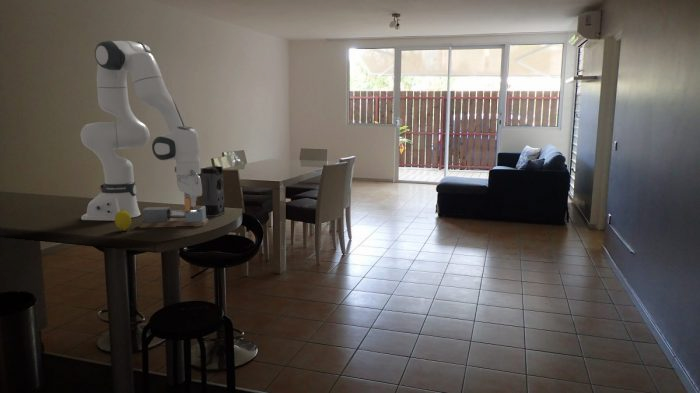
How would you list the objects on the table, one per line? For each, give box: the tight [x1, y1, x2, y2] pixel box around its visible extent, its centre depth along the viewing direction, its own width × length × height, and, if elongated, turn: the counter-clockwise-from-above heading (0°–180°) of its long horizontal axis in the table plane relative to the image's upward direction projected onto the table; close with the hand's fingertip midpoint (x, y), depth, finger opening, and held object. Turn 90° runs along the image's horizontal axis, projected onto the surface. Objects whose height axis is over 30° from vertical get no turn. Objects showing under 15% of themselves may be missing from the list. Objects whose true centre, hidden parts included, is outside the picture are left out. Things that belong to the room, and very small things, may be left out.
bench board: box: [138, 217, 209, 228], centre depth 207 cm, size 24×8×2 cm, turn 94°
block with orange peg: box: [167, 197, 198, 219], centre depth 206 cm, size 14×4×8 cm, turn 94°
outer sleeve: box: [141, 206, 172, 223], centre depth 206 cm, size 9×5×5 cm, turn 93°
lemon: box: [114, 210, 132, 232], centre depth 196 cm, size 6×6×8 cm
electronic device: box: [201, 165, 226, 218], centre depth 224 cm, size 9×6×20 cm, turn 168°
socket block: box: [185, 205, 207, 222], centre depth 207 cm, size 6×6×5 cm
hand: (190, 205), depth 206 cm, fingers open, 5 cm apart
